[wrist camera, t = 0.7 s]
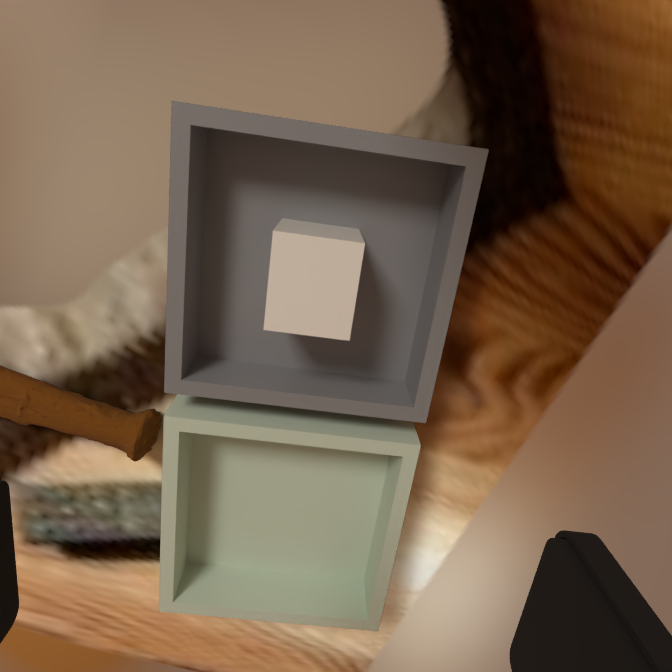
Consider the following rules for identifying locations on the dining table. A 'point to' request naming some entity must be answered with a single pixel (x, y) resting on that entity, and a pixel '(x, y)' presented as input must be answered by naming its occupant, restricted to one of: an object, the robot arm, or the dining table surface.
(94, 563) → the dining table surface
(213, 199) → the charcoal bin
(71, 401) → the primitive tool
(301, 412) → the sage crate
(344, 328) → the beige block
